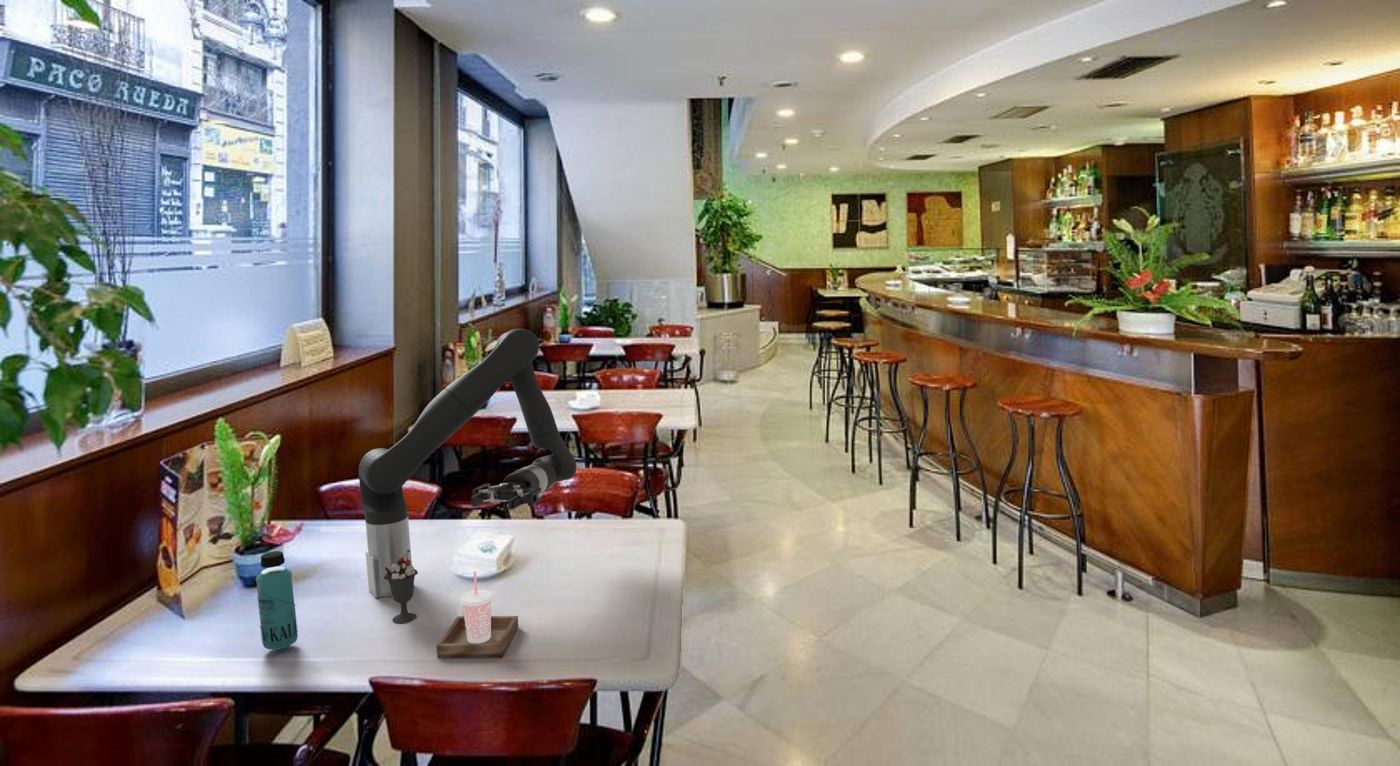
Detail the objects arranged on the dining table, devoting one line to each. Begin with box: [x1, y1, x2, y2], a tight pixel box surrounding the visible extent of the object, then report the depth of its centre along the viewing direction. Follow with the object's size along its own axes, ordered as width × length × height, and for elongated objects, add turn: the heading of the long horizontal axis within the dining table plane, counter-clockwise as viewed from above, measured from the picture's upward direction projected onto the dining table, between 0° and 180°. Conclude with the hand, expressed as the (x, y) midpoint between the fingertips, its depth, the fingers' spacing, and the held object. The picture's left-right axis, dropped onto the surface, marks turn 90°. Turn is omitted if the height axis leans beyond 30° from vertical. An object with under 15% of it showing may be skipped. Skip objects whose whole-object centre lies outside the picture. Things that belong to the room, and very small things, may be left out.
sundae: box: [384, 550, 419, 624], centre depth 169 cm, size 7×7×15 cm
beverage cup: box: [460, 571, 493, 643], centre depth 158 cm, size 6×6×14 cm
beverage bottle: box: [255, 550, 299, 650], centre depth 156 cm, size 6×7×20 cm
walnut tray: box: [436, 615, 519, 659], centre depth 159 cm, size 13×13×3 cm
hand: (491, 503), depth 168 cm, fingers open, 8 cm apart
